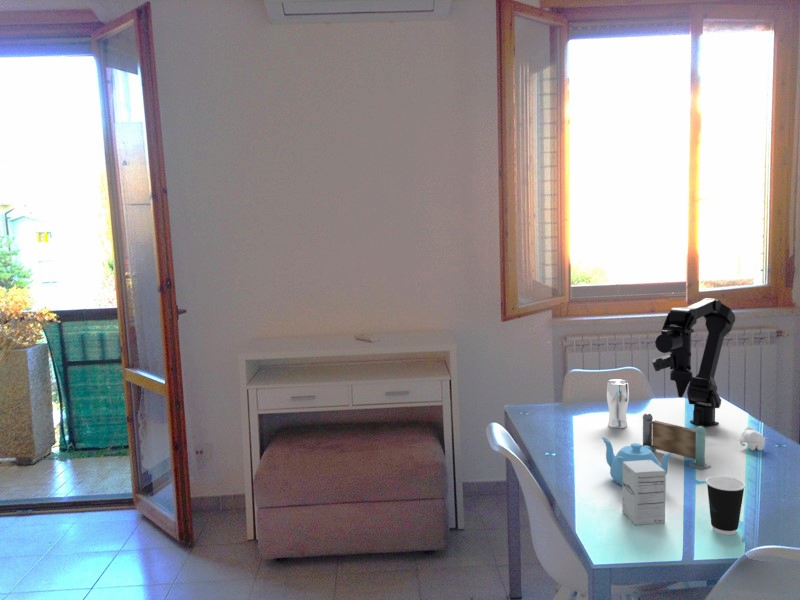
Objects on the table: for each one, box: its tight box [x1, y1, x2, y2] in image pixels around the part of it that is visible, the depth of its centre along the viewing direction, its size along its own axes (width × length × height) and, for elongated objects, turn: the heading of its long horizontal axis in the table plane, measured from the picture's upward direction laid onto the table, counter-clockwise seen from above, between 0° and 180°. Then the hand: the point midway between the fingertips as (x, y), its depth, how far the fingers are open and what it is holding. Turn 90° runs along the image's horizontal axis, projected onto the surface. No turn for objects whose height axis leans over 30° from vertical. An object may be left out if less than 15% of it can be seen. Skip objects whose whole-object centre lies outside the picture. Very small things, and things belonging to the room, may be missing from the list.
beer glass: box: [606, 379, 630, 430], centre depth 227 cm, size 7×7×15 cm
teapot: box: [601, 437, 675, 486], centre depth 179 cm, size 15×15×10 cm
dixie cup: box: [705, 475, 746, 536], centre depth 151 cm, size 8×8×11 cm
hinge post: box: [641, 412, 657, 452], centre depth 204 cm, size 5×5×11 cm
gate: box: [652, 420, 696, 460], centre depth 196 cm, size 16×2×9 cm, turn 38°
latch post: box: [688, 425, 712, 471], centre depth 189 cm, size 4×4×11 cm
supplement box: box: [621, 460, 667, 526], centre depth 158 cm, size 7×7×13 cm
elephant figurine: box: [738, 426, 769, 451], centre depth 202 cm, size 7×8×6 cm
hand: (680, 396), depth 216 cm, fingers closed
